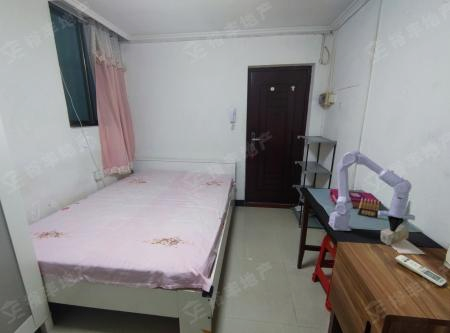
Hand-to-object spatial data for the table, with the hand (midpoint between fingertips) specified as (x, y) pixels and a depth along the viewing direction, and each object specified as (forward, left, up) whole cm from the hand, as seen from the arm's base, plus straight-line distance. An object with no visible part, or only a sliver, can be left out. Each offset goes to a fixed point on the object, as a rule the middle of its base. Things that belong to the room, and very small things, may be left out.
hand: (392, 230), depth 106 cm
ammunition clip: (+9, +32, -8) cm, 34 cm away
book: (+11, +53, -9) cm, 54 cm away
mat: (+6, 0, -8) cm, 10 cm away
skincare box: (-2, +1, -5) cm, 6 cm away
